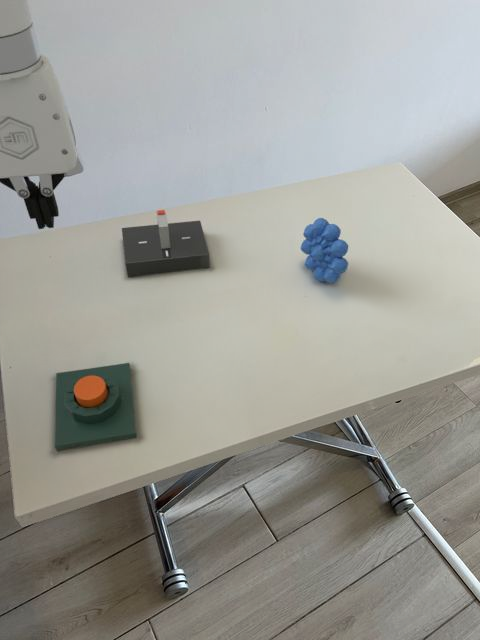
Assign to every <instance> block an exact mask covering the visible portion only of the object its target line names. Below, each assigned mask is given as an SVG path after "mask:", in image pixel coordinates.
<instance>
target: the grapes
mask: <svg viewBox="0 0 480 640" xmlns="http://www.w3.org/2000/svg"><path fill="white" fill-rule="evenodd" d="M341 232H342V230H341V228H340V227H339V226H338V225H337V224H336V223H330V222H329V221H328V220H327V219H326V218H323V217H318V218H316V219H315V220H314V221H313V223H311V224H308V225H306V226H305V228H304V229H303V237H304V238H305V239H304V240H302V243H301V245H300V250H301V252H302V253H303V254H304V255H307V257H306V258H305V261H304V267H305V268H306V269H308V270H310V271H314V272H313V278H314V279H315V280H316V281H318V282H322V283H323V282H327V283H329V284H336V283H337V282H338V281H339V280H340V278H341V275H342V274H344V273H346V271H347V270H348V267H349V261H348V259H347V258H345V256H346V255H347V253H348V251H349V244H348V243H347V241H346V240H343V239H340V237H341V234H342V233H341Z"/></svg>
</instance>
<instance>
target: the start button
mask: <svg viewBox="0 0 480 640" xmlns="http://www.w3.org/2000/svg"><path fill="white" fill-rule="evenodd" d="M74 394H75V396H76V399H77V401H78V403H79V404H80V405H81V406H83V407H88V408H91V407H96V406H99V405H100V404H102V403H103V402H104V401H105V400H106V398H107V395H108V391H107V388H106V384H105V381H104V380H103V379H102V378H100V377H98V376H86V377H83V378H82V379H80V380H79V381H78V382H77V383H76V384H75V386H74Z"/></svg>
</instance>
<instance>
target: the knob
mask: <svg viewBox="0 0 480 640" xmlns="http://www.w3.org/2000/svg"><path fill="white" fill-rule="evenodd" d="M155 214H156V221H157V225H158V230H159V237H160V242H161V248H162V249H166V248H170V239H169V229H168V223H169V222H168V218H167V213H166V210H165V209H159V210H156V211H155Z"/></svg>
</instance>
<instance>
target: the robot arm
mask: <svg viewBox="0 0 480 640" xmlns="http://www.w3.org/2000/svg"><path fill="white" fill-rule="evenodd" d="M67 106H68V105H67V102H66V100H65V97H64V94H63V91H62V88H61V85H60V83H59V80H58V78H57V75H56V73H55V70H54V68H53V65H52V63H51V62H50V59H49V58H48V57H47V56H46V55H44V54H41V51H40V46H39V43H38V40H37V35H36V30H35V27H34V23H33V19H32V13H31V10H30V6H29V2H28V0H0V184H2V185H4V186H6V187H7V188H9V189H10V190H12V191H14V192H16V194H17V195H18V197H19V198H21V199H23V201H24V204H25V208H26V211H27V213H28V216H29V217H28V218H29V219H30V220H35V222H36V225H37V229H38V230H44V229H45V228H48V229H54V228H55V218H56V217H57V218H58V217H59V216H60V215H59V214H60V213H59V206H58V203H57V200H56V195H55V192H54V191H55V189H57V187H58V186H59V185H60V183H61V182H62V181H63V180H64V178H66V177H67V178H68V177H72V176H75V175H78V174H82V173H83V172H84V161H83V160H82V157H81V155H80V153H79V151H78V149H77V142H76V136H75V135H76V134H75V132H74V128H73V124H72V120H71V117H70V113H69V110H68V107H67ZM36 176H37V177H38V179H39V181H38V185H37V184H36V183H35V182H34V181H32V179H31V177H36Z"/></svg>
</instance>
